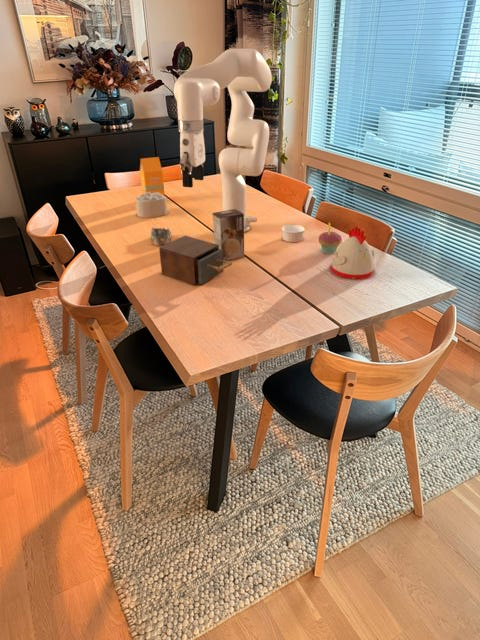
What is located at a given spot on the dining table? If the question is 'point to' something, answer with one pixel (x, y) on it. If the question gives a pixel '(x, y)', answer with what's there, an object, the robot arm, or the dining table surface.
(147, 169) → the orange juice
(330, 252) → the cupcake
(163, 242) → the egg carton
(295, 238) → the ramekin
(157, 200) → the lumpy-topped squat cylinder
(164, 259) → the cabinet
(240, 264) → the dining table surface
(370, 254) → the kitchen timer
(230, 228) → the coffee box
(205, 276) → the drawer
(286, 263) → the dining table surface
